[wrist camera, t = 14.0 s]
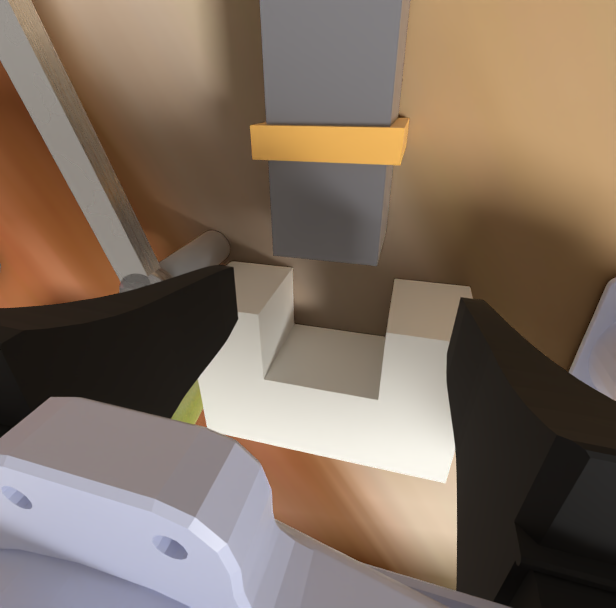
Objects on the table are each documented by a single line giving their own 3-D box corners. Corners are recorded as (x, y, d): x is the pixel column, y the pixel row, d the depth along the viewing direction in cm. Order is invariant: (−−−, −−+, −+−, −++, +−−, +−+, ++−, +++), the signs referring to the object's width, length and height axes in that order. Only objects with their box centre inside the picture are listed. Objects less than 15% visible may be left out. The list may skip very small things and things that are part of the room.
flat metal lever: (-17, 4, 14) (-45, -1, 13) (30, -27, 13) (3, -35, 12) (148, 315, 19) (136, 325, 18) (190, 309, 18) (178, 319, 17)
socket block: (477, 253, 19) (495, 307, 15) (441, 408, 25) (445, 484, 20) (197, 229, 23) (138, 265, 18) (219, 368, 28) (178, 425, 24)
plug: (445, -196, 12) (456, -349, 8) (396, 230, 20) (388, 271, 15) (284, -169, 14) (219, -288, 9) (293, 222, 21) (259, 257, 17)
